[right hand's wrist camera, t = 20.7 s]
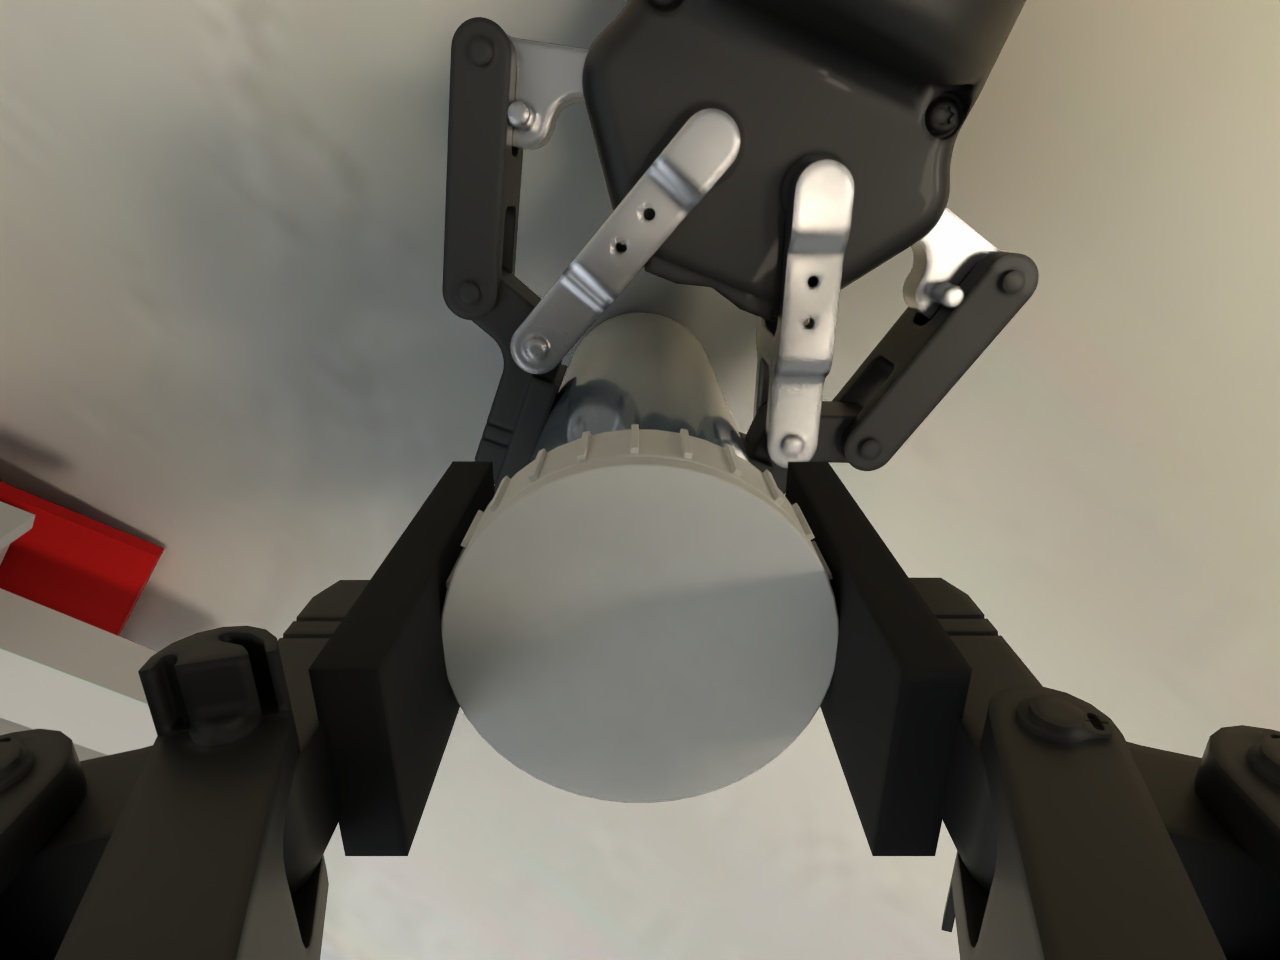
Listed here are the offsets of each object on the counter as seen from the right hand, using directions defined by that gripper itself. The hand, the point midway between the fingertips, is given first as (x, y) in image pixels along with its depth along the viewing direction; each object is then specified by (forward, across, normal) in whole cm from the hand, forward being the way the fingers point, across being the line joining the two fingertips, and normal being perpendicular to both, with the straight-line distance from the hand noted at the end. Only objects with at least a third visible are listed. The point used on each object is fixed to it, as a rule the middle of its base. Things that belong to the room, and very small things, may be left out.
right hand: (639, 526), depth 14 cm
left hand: (+5, -1, -2) cm, 6 cm away
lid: (-4, 0, 0) cm, 4 cm away
